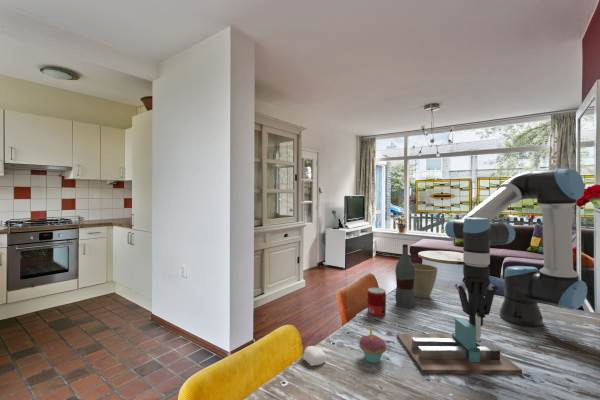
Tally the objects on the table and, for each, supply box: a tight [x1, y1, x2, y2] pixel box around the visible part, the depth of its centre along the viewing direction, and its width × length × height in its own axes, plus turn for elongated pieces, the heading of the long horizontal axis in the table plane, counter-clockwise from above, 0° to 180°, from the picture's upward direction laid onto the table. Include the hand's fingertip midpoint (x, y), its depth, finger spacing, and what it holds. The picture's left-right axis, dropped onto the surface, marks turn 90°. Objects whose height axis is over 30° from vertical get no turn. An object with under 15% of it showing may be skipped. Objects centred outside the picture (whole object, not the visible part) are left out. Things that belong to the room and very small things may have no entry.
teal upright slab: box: [451, 318, 480, 362], centre depth 96 cm, size 3×11×10 cm, turn 0°
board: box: [396, 333, 523, 375], centre depth 98 cm, size 30×23×1 cm
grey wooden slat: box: [412, 338, 463, 350], centre depth 99 cm, size 20×2×3 cm, turn 87°
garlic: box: [302, 345, 327, 367], centre depth 94 cm, size 8×7×4 cm
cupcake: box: [359, 324, 387, 364], centre depth 95 cm, size 9×8×12 cm
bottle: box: [394, 243, 416, 309], centre depth 143 cm, size 9×9×30 cm
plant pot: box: [413, 263, 438, 299], centre depth 156 cm, size 15×15×16 cm
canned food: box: [367, 287, 387, 318], centre depth 132 cm, size 8×8×11 cm
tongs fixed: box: [419, 338, 501, 360], centre depth 96 cm, size 25×7×3 cm, turn 90°
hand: (475, 335), depth 96 cm, fingers closed
